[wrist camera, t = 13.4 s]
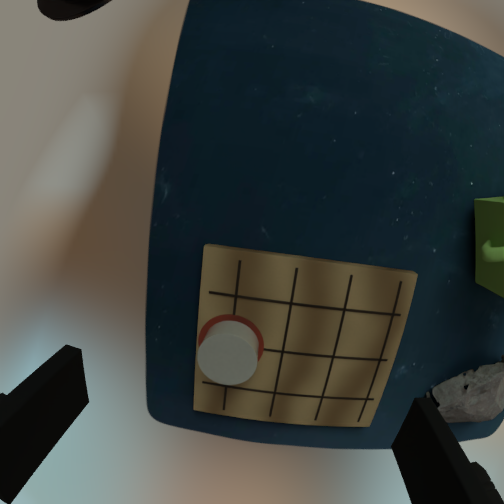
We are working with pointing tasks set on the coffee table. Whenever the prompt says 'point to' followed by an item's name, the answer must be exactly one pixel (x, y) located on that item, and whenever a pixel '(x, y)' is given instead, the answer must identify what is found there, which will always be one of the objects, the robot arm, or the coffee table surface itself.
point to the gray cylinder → (229, 353)
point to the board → (303, 334)
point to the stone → (472, 394)
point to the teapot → (490, 243)
